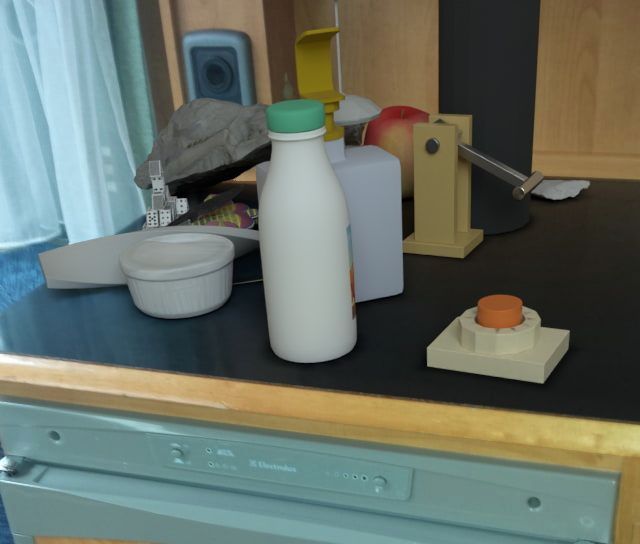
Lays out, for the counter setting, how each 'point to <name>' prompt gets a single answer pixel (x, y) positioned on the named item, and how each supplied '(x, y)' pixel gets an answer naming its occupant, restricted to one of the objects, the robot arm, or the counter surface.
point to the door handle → (103, 255)
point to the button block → (499, 348)
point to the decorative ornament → (229, 216)
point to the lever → (499, 168)
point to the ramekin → (179, 274)
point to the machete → (207, 206)
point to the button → (499, 311)
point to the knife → (248, 280)
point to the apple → (397, 139)
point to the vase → (492, 96)
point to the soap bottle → (355, 178)
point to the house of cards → (163, 201)
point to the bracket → (442, 189)
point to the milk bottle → (305, 240)
